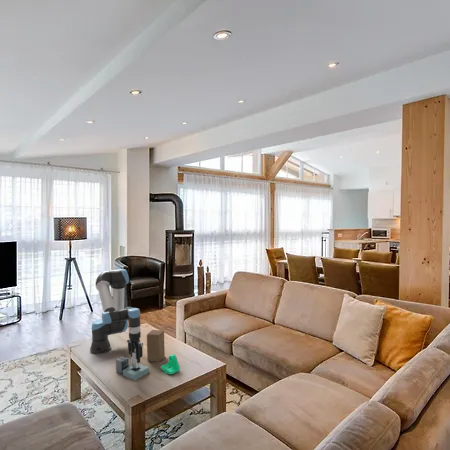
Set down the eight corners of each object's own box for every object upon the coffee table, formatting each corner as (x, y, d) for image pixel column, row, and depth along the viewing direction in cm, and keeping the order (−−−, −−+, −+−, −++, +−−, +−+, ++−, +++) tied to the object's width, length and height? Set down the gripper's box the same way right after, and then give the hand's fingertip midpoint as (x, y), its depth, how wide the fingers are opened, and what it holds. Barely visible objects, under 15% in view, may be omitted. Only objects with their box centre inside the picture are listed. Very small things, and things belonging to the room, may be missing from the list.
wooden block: (159, 362, 233) (159, 335, 232) (146, 361, 235) (146, 334, 234) (165, 356, 243) (164, 330, 242) (152, 355, 245) (152, 329, 244)
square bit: (116, 372, 220) (115, 359, 219) (123, 368, 225) (123, 356, 224) (121, 374, 216) (121, 361, 216) (129, 371, 221) (128, 358, 221)
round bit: (131, 372, 217) (130, 352, 216) (136, 370, 220) (135, 350, 219) (135, 374, 214) (134, 353, 214) (140, 372, 218) (139, 351, 217)
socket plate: (122, 375, 216) (122, 370, 216) (137, 367, 226) (136, 362, 225) (134, 380, 209) (134, 375, 209) (148, 372, 219) (148, 367, 219)
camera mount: (160, 370, 222) (159, 355, 222) (169, 366, 228) (169, 351, 227) (170, 376, 214) (170, 360, 213) (179, 372, 219) (179, 357, 219)
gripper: (122, 331, 218) (123, 365, 219) (138, 336, 208) (139, 372, 209) (131, 327, 224) (132, 361, 225) (147, 332, 214) (148, 367, 215)
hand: (135, 366), depth 217 cm, fingers closed on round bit, 4 cm apart
